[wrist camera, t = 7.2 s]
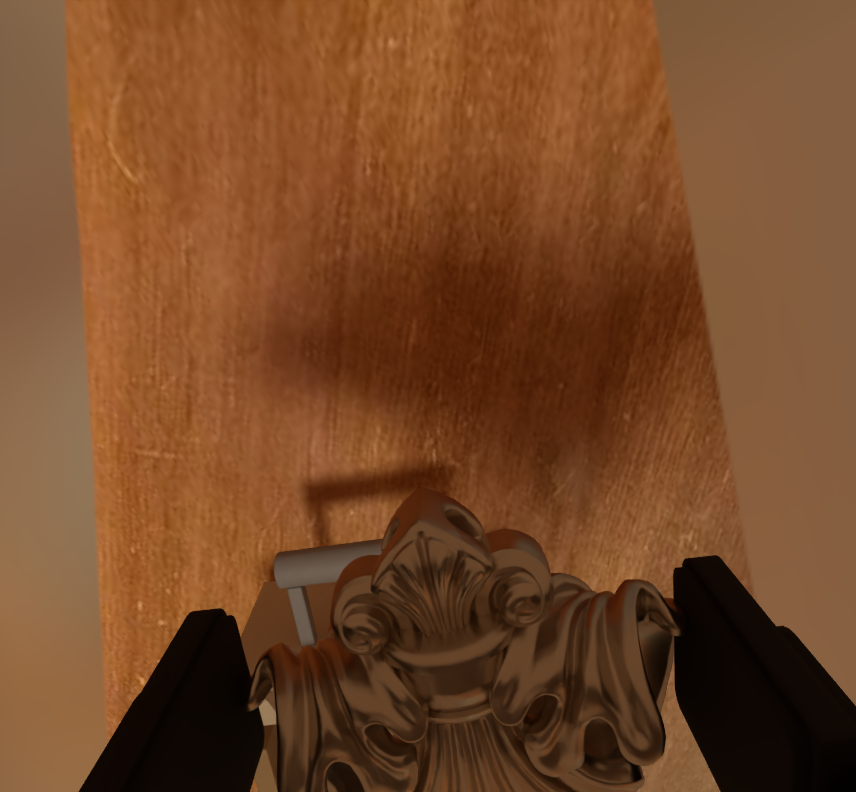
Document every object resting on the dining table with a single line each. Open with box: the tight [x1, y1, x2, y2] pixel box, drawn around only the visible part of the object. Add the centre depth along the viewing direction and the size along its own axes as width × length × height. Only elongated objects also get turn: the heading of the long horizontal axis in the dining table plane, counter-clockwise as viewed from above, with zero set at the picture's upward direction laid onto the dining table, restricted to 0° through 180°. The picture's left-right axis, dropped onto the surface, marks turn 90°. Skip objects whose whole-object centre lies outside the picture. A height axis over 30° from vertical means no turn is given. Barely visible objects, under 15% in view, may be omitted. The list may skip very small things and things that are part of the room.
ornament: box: [238, 487, 690, 792], centre depth 10 cm, size 8×7×4 cm
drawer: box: [241, 539, 393, 792], centre depth 27 cm, size 18×12×8 cm
